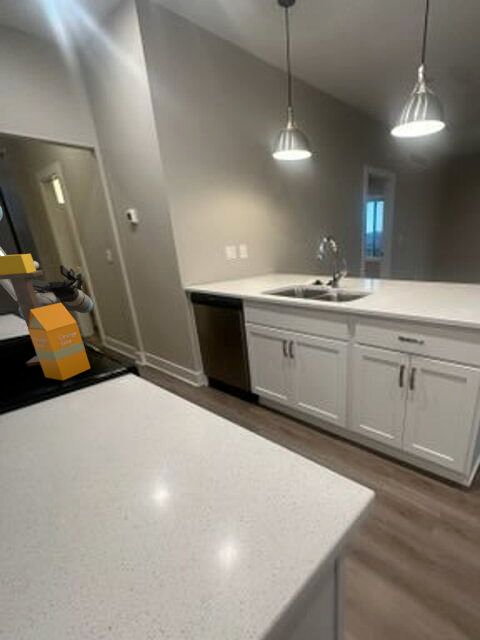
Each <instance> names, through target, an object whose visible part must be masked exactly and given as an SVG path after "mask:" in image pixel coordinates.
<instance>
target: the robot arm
mask: <svg viewBox="0 0 480 640" xmlns="http://www.w3.org/2000/svg"><path fill="white" fill-rule="evenodd" d="M3 212H4V211H3V209H2V207H1V205H0V221H2V219H3V214H4V213H3ZM4 255H8V254H7V253H6V251H5V250H3V248H2V247H1V246H0V256H4ZM59 269H60V274H61V275H62V276H63V277H65V279H64V280H60V281H50V280H45V281H44V280H39V279H34V278H32V277H30V279H31V282H32V285H33V288H34V290H35V293H36V296H37V299H38V302H39V305H40V307H44V306H48V305H52V304H57V303H62V304H63V305H64V307H65V308H66V309H67V311H68V312H77V313H80V314H87V313H89V312H91V311H92V309H93V308H94V302H93V300H92V298H90V296H88V294H86V293H85V292H83V283H84V275H83V273H78V274H77V272H76V271H72V270H69V269H67V268H66V267H65V266H64V265H63V264H62V265H59ZM0 285H1V286H2V287H3V288H4V290H6V291H7V293H8V294H9V295H10V296H11V297H12V298H13V300H14V301H15V302H16V303H17V304H18V305H19V302H18V299H17V296H16V294H15V291H14V288H13V285H12V283H11V280H10V279H2V280H0ZM18 312H19V315H20V316H21V317H22V318H23V319H24V316H23V313H22V310H21V308H20V305H19V307H18Z"/></svg>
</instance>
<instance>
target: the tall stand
mask: <svg viewBox="0 0 480 640" xmlns="http://www.w3.org/2000/svg"><path fill="white" fill-rule="evenodd" d="M43 275H44V272H43V270H42V269H41V270H36V271H33V272H30V273H23V274H9V275H0V280H2V279H10V280H11V283H12V285H13V288H14V291H15V294H16V296H17V299H18V302H19V304H18V305H19V306H20V308H21V310H22V313H23V316H24V318H23V319H24V321H25V324H26V327H27V328H28V326H29V317H30V310H31V309H35V308H39V307H40V305H39V302H38V299H37V296H36V293H35V290H34V288H33V285H32V282H31V279H32V278H35V277H38V276H43ZM30 278H31V279H30ZM25 365H26V367H34V366H41V364H40V361H39V358H38V356H37V355H35V356H33V357H32V358H31V359H29V360H28V361H26V362H25Z"/></svg>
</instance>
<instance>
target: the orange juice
mask: <svg viewBox="0 0 480 640" xmlns="http://www.w3.org/2000/svg"><path fill="white" fill-rule="evenodd" d="M27 331H28V334H29V336H30V339H31V342H32V345H33V347H34V350H35V354H36V356H38V358H39V361H40V364H41V365H40V367H41V369H42V372H43V374H44V377H45V378H46V379H47V378H48V379H52V380H53V379H54V380H59V381H65V380H67V379H70V378H72V377H74V376H77V375H79V374H81V373H83V372H86V371H87V370H91V365H90V362H89V358H88V355H87V353H86V348H85V345H84V341H83V338H82V335H81V333H80V330H79V326H78V323H77V321H76V319H75V318H74V317H73V316H72V314H71V313H70V311H67V309H66V308H65V307H64V305H63V304H62V303H57V304H52V305H48V306H44V307H39V308H35V309H31V310H30V317H29V326H28V327H27Z"/></svg>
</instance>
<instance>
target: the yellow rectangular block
mask: <svg viewBox="0 0 480 640" xmlns="http://www.w3.org/2000/svg"><path fill="white" fill-rule="evenodd" d="M39 268H40V263H39V262H37V261H36V260H34V259H33V257H32V253H21V254H7V255H4V256H0V275H9V274H23V273H30V272H33V271H37V269H39Z"/></svg>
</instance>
